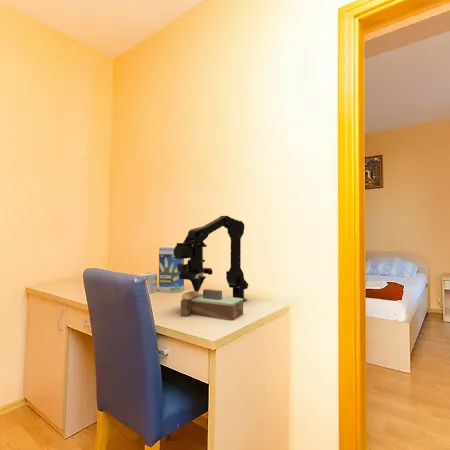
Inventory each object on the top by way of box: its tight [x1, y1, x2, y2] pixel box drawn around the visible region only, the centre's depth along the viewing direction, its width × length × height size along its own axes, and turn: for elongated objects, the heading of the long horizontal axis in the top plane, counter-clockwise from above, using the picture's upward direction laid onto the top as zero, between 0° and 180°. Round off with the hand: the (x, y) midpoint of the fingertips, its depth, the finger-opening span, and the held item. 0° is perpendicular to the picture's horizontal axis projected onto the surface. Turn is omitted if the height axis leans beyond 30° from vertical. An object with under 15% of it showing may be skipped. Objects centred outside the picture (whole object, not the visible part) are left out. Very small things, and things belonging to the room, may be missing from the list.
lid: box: [181, 288, 244, 306], centre depth 134 cm, size 11×24×4 cm, turn 62°
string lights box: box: [158, 245, 185, 293], centre depth 183 cm, size 13×8×26 cm, turn 82°
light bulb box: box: [138, 272, 158, 294], centre depth 178 cm, size 11×7×11 cm, turn 149°
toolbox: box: [180, 299, 244, 321], centre depth 133 cm, size 14×24×6 cm, turn 62°
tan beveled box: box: [181, 290, 200, 300], centre depth 135 cm, size 8×3×2 cm, turn 152°
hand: (196, 292), depth 139 cm, fingers closed
